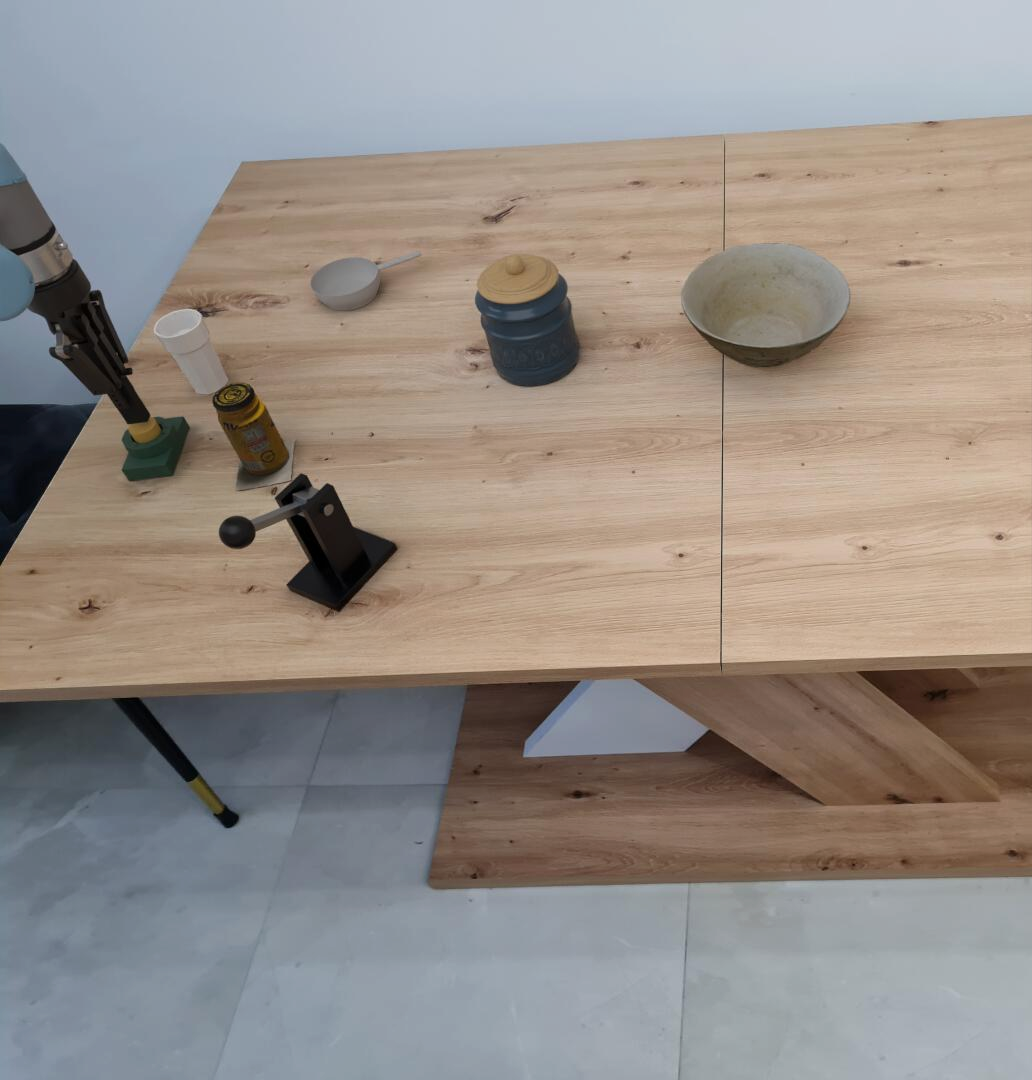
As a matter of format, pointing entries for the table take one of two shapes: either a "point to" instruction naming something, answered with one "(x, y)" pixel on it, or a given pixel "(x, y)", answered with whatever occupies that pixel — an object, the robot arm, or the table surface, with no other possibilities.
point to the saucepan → (351, 281)
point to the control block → (155, 450)
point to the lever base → (331, 547)
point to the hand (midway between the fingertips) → (139, 419)
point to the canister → (527, 319)
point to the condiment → (253, 437)
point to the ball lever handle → (260, 521)
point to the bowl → (765, 302)
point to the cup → (192, 349)
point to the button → (145, 431)
